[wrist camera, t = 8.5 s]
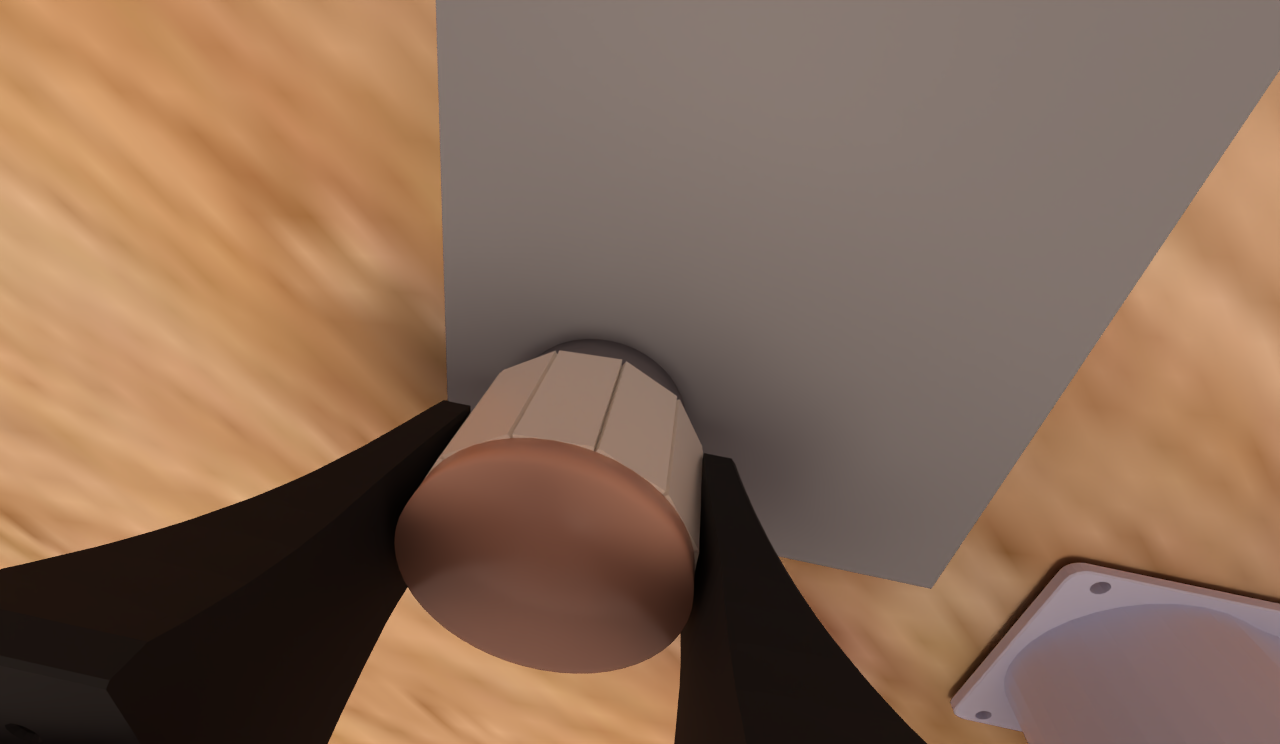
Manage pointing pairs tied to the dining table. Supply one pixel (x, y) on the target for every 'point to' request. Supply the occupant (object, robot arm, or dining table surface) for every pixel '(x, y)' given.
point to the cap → (561, 518)
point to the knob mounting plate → (830, 223)
